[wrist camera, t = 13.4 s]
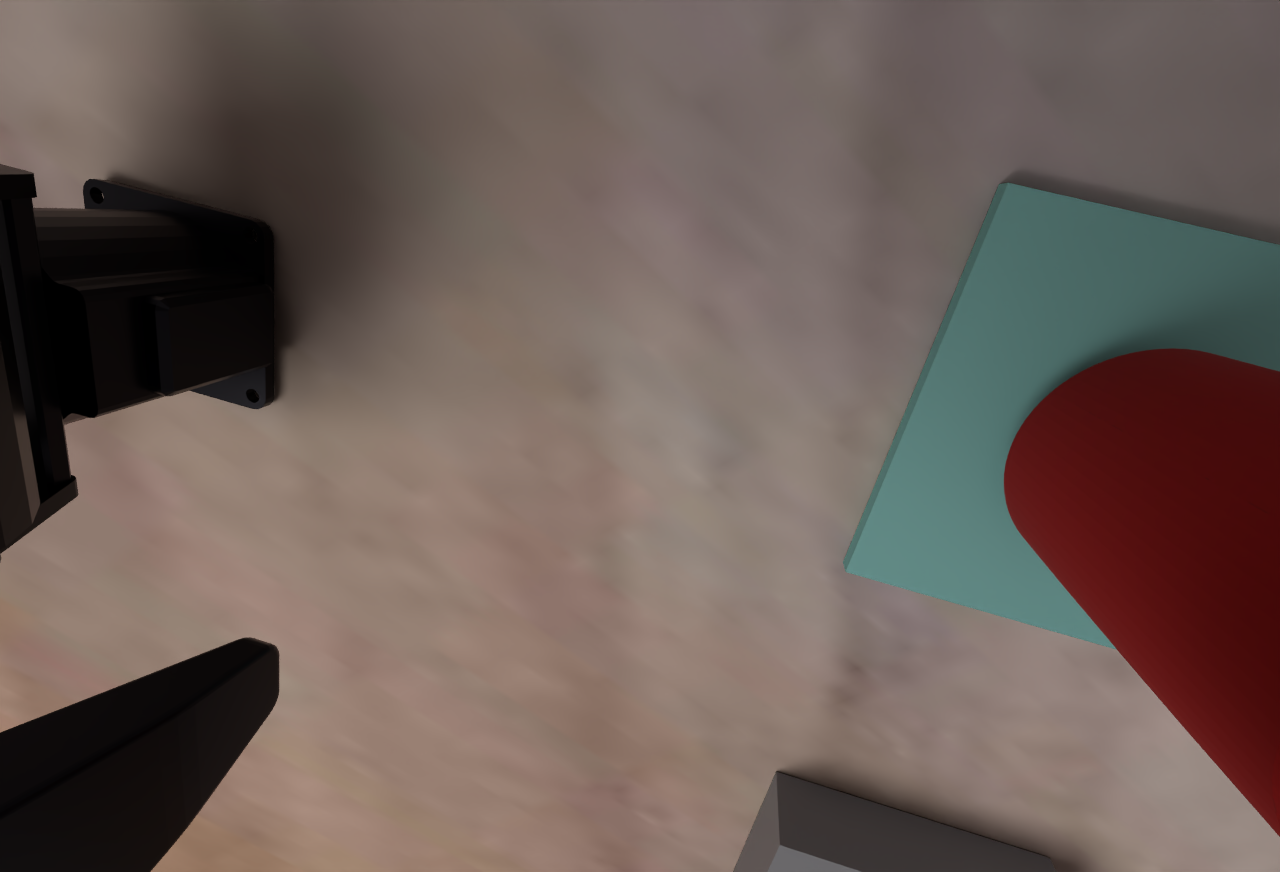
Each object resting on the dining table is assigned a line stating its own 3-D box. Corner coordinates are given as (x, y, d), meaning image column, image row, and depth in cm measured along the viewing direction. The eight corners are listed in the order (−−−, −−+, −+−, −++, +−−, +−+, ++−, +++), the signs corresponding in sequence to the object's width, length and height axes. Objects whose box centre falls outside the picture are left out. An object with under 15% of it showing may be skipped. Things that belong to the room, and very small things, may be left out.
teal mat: (843, 562, 20) (845, 572, 20) (999, 184, 16) (1008, 182, 15) (1213, 667, 19) (1227, 681, 19) (1488, 296, 15) (1518, 299, 14)
